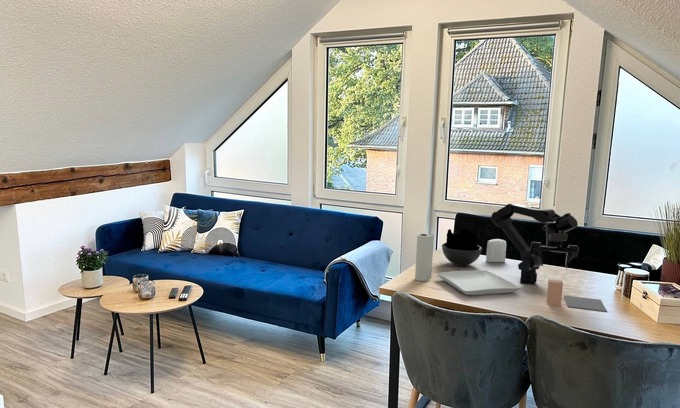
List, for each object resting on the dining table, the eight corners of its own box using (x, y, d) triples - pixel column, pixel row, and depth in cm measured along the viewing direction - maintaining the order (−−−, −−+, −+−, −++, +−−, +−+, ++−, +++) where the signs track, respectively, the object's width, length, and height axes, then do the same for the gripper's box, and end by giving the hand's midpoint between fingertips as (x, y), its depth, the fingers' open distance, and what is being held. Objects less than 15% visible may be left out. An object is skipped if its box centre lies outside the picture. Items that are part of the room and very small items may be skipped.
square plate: (464, 299, 200) (465, 290, 199) (434, 279, 226) (435, 271, 225) (521, 295, 207) (522, 286, 206) (486, 276, 233) (486, 268, 232)
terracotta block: (547, 304, 195) (549, 281, 194) (546, 301, 199) (548, 279, 197) (560, 306, 193) (563, 283, 192) (559, 303, 197) (561, 280, 196)
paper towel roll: (414, 280, 222) (416, 235, 219) (416, 277, 228) (418, 232, 225) (429, 282, 220) (432, 236, 217) (431, 278, 226) (433, 234, 223)
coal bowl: (485, 264, 254) (487, 229, 252) (473, 272, 238) (476, 235, 235) (448, 258, 265) (450, 224, 262) (435, 266, 248) (437, 230, 245)
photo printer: (502, 260, 263) (504, 238, 261) (506, 262, 258) (508, 240, 257) (484, 260, 261) (486, 238, 260) (488, 262, 257) (489, 240, 255)
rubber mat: (567, 307, 193) (567, 306, 192) (563, 296, 206) (563, 295, 206) (607, 312, 188) (607, 311, 188) (600, 300, 201) (600, 299, 201)
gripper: (532, 223, 206) (532, 254, 198) (580, 226, 201) (582, 259, 192) (529, 237, 215) (529, 268, 206) (575, 241, 210) (577, 272, 201)
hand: (554, 266), depth 201 cm, fingers open, 9 cm apart
